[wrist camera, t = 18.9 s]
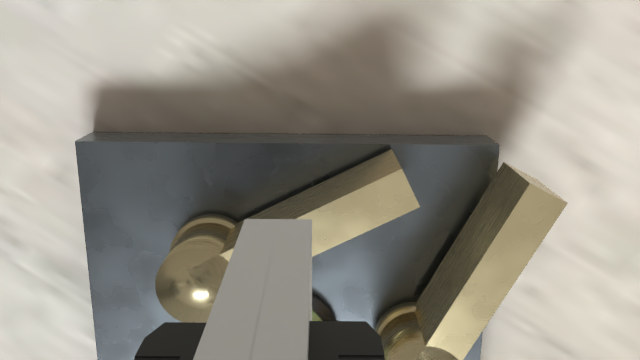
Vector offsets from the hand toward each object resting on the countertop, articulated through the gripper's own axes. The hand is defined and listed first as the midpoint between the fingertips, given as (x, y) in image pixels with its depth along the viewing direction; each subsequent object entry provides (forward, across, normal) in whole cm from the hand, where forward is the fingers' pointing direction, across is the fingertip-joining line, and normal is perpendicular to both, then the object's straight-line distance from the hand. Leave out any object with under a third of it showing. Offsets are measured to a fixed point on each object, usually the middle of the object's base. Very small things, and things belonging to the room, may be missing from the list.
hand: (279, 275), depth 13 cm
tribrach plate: (+20, -1, -12) cm, 24 cm away
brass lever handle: (+18, +8, -8) cm, 21 cm away
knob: (+18, -1, -5) cm, 18 cm away
